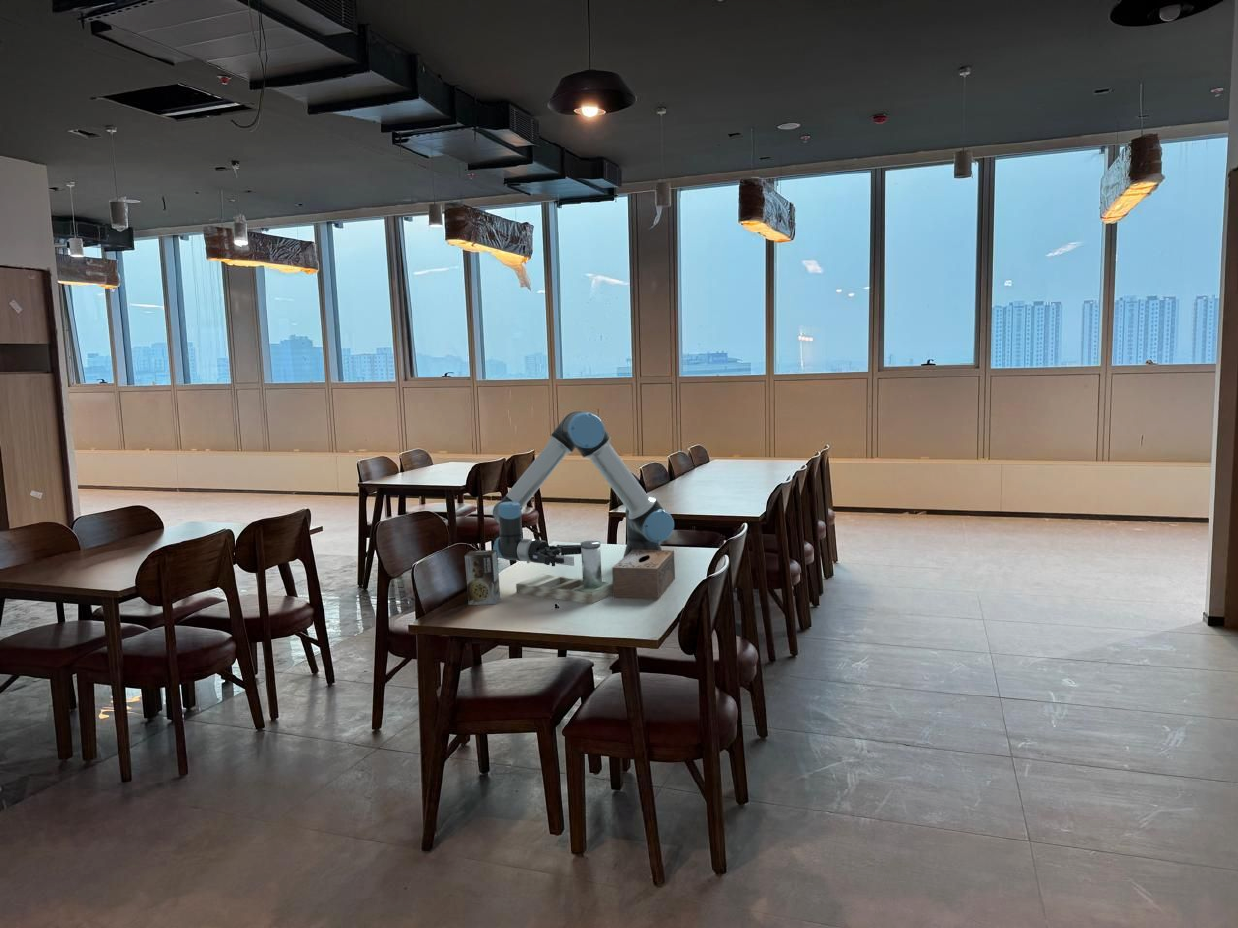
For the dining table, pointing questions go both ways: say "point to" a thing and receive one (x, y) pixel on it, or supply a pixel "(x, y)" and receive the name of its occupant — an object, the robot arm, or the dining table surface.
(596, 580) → the canister
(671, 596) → the dining table surface
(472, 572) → the coffee box
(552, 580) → the board
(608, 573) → the dining table surface
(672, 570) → the tissue box cover
